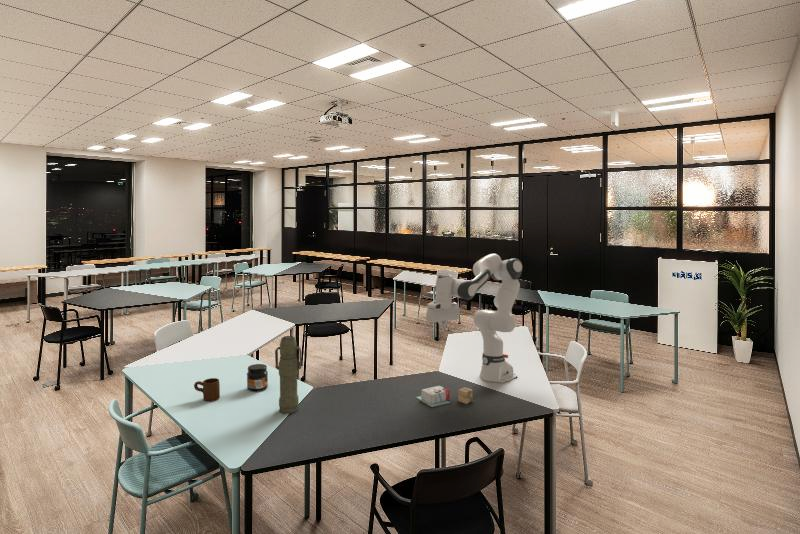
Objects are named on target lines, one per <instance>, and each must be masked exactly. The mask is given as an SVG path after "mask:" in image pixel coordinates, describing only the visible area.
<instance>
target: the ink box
mask: <svg viewBox="0 0 800 534" xmlns="http://www.w3.org/2000/svg"><path fill="white" fill-rule="evenodd" d="M420 392H421V395H420V396H421V398H422V399H423V400H425V401H426V402H428V403H430V404H433V403H437V402H441V401H444V400H447V401H448V400H450V398H451V395H450V394H451V393H450V389H447V388H445V387H443V386H441V385H437V386H431V387H426V388H423V389H421V390H420Z"/></svg>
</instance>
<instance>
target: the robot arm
mask: <svg viewBox="0 0 800 534" xmlns="http://www.w3.org/2000/svg"><path fill="white" fill-rule="evenodd" d="M523 267H524V266H523V263H522V261H521V260H520V259H518V258H510V259H504V260H502V258H501V256H500V255H499V254H497V253H489V254H487V255H485V256H483V257H481V258H480V259H479V260H477V261H476V262H475V263H474V264H473V267H472V272H473V275H474V276H475V277H474V278H473V279H471V280H463V279H462V280H461V279H457V278H455V277H453V276H452V275H451V274H450V273H442V274H438V275H437V277H436V279H435V293H436V294H435V299H434V300H433V301H431V302H429V303H427V305H426V306H427V309H426V312H425V313H426V315H425V316H426V317H425V319H426V322H427V323H429V324H433V323H438V325H439V329H440V330H446V329H447V325H448V322H449V321H455V320H456V321H457V320H459V319H460V310H459V308H460V307H459V304H458V303H457V302H453V299H452V297H455V298H459V299H463V300H466V301H469V300H472V299H473V298H474V297H475V296H476V294H477V292H478V291H479V290H480V289H481V288H483V286H485V285H486V283H487V282H488V281H489V280H490V278H492V279H493V280H495V281H501V285H500V286H499V288H498V291H497V293H496V294H495V297H494V299H493V304H494V306H495V307H496V310H491V309H478V310H476V311H475V313H474V314H473V319H472V320H473V323H474V325H475V326H476V327H477V329H478V330H479V332H480V335H481V336H482V341H483V342H482V343H483V344H482V345H483V347H482V349H483V350H482V351H483V352H482V356H481V357H482V358H481V359H482V363H481V370H480V371H479V372H480V374H479V378H480V379H481V380H484V381H486V382H490V383H491V382H493V383H500V384H501V383H502V384H503V383H506V381H507V382H509V381H511V380H514V379H517V378H518V374H516V373H515V372H514V367H513V365H512V364H510V363H509V362H508V361H506V359H508V358H509V355H508V354H505V353H504V341H503V339H502V338H501V337H500V336H499V335H498V333H497V332H500V333H511V332H514V329H516V326H517V321H516V317H515V316H514V315H513V311H512V309H513V306H514V303H515V302H516V299H517V298H518V294H519V291H520V289H521V284H520V281H519V279H520V278H521V275H522V273H523ZM516 377H517V378H516Z"/></svg>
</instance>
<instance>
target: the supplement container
mask: <svg viewBox="0 0 800 534" xmlns="http://www.w3.org/2000/svg"><path fill="white" fill-rule="evenodd" d="M267 367H268V366H267V365H266V364H263V363H256V364H251V365H249V366H248V367H247V372H246V382H247V383H246V385H247V386H246V388H247V390H248V391H250V392H255V393H256V392H257V393H258V392H262V391H265V390H267V389H268V387H269V383H268V382H269V381H268V371H267V370H268V369H267Z"/></svg>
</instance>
